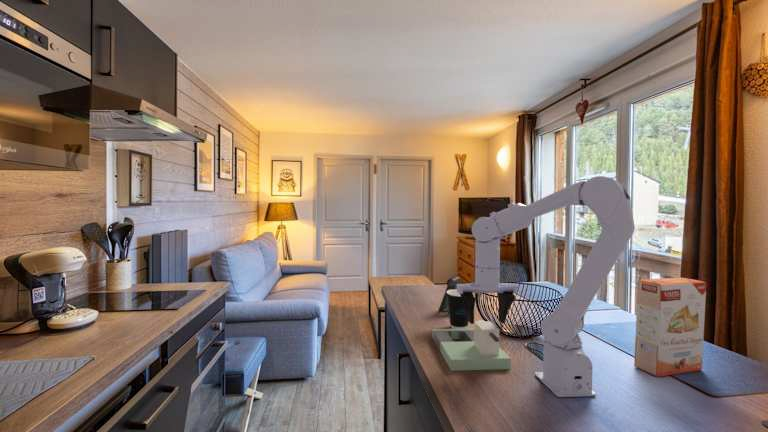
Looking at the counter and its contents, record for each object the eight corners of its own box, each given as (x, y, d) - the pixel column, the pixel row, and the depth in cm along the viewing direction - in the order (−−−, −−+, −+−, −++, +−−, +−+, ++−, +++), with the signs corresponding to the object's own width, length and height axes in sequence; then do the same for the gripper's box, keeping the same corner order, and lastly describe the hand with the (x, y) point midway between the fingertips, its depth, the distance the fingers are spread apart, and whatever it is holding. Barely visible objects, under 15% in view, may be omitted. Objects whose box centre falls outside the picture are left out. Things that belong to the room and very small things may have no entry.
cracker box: (659, 379, 76) (662, 284, 76) (632, 366, 82) (635, 278, 81) (705, 371, 80) (708, 281, 79) (676, 360, 86) (679, 276, 85)
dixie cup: (456, 321, 114) (457, 288, 113) (477, 328, 107) (477, 292, 107) (440, 326, 108) (441, 291, 108) (461, 334, 102) (461, 296, 102)
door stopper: (438, 310, 125) (438, 277, 125) (445, 306, 130) (445, 275, 130) (462, 315, 120) (463, 280, 120) (468, 311, 125) (468, 277, 125)
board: (510, 369, 80) (510, 358, 80) (451, 370, 79) (451, 359, 79) (480, 336, 100) (480, 328, 100) (432, 337, 99) (432, 328, 99)
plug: (505, 361, 79) (505, 335, 78) (487, 361, 78) (488, 335, 78) (487, 343, 89) (488, 320, 89) (472, 343, 89) (473, 320, 89)
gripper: (509, 263, 89) (508, 316, 89) (453, 264, 88) (452, 317, 88) (522, 268, 82) (521, 326, 82) (461, 269, 81) (460, 327, 81)
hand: (486, 322), depth 85 cm, fingers open, 7 cm apart
